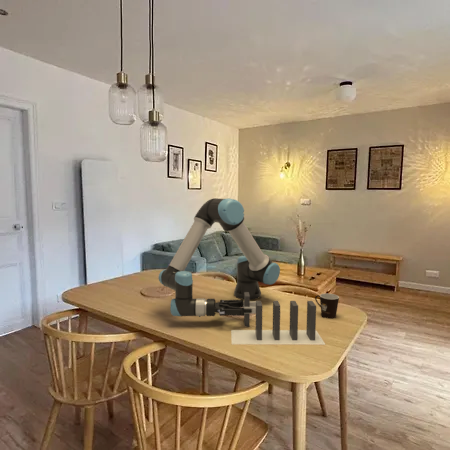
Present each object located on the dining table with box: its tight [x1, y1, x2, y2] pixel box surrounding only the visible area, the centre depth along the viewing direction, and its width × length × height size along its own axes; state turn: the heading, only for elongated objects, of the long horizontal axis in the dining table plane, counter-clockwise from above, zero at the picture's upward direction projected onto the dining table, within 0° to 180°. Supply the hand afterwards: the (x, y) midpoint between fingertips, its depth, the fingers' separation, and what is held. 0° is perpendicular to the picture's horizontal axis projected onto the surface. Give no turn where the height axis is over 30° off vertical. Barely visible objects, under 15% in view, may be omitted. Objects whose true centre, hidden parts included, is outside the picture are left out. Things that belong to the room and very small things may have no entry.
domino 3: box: [272, 300, 281, 340], centre depth 131 cm, size 2×6×14 cm, turn 0°
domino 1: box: [243, 292, 251, 328], centre depth 144 cm, size 2×6×14 cm, turn 0°
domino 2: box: [255, 300, 263, 340], centre depth 131 cm, size 2×6×14 cm, turn 0°
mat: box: [230, 329, 326, 346], centre depth 131 cm, size 13×36×1 cm, turn 90°
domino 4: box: [289, 300, 299, 340], centre depth 131 cm, size 2×6×14 cm, turn 0°
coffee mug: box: [314, 293, 340, 320], centre depth 155 cm, size 12×9×10 cm
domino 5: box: [306, 300, 317, 340], centre depth 131 cm, size 2×6×14 cm, turn 0°
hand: (258, 307), depth 144 cm, fingers closed on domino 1, 6 cm apart
